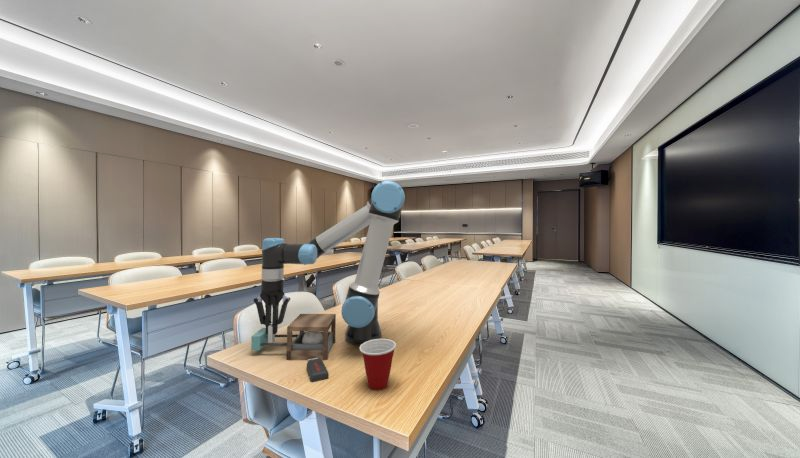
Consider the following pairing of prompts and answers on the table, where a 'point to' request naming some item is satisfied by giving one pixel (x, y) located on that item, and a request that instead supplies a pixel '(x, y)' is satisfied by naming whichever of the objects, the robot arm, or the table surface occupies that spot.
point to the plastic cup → (378, 361)
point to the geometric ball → (312, 338)
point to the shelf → (311, 324)
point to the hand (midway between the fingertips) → (271, 342)
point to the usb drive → (317, 370)
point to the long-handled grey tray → (262, 340)
